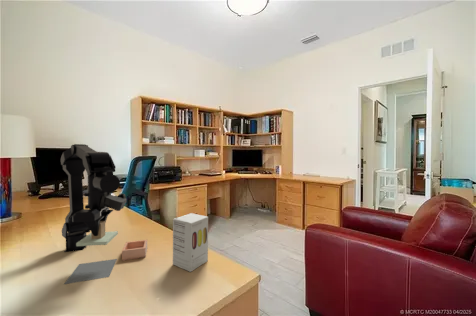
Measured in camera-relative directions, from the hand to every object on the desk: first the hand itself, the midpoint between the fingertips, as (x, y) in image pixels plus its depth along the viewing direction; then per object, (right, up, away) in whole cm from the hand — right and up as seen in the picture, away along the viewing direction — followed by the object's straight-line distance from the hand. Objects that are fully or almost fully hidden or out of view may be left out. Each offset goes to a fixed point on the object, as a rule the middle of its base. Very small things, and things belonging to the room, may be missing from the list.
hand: (98, 233), depth 73 cm
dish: (+8, -12, +11) cm, 18 cm away
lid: (0, -2, 0) cm, 2 cm away
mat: (-1, -12, -1) cm, 12 cm away
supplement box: (+31, -13, +5) cm, 34 cm away
